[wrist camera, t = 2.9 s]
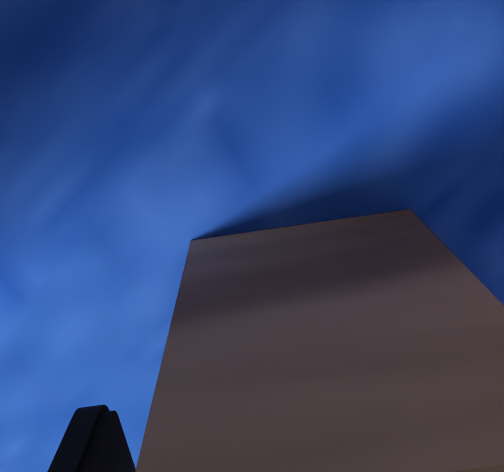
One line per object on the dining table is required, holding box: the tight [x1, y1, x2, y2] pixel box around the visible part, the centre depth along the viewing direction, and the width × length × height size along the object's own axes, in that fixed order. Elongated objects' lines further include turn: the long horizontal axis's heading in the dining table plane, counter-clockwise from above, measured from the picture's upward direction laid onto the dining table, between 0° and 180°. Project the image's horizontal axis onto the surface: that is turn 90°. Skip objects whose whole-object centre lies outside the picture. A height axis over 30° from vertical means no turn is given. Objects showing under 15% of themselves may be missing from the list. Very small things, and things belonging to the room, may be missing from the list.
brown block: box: [135, 209, 504, 472], centre depth 10 cm, size 5×6×8 cm
